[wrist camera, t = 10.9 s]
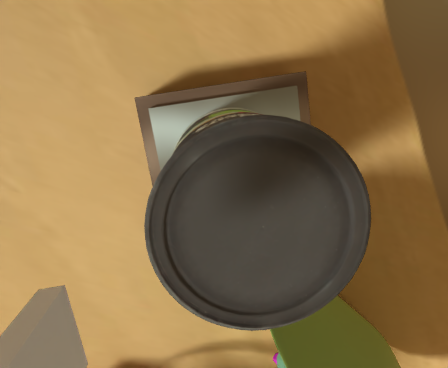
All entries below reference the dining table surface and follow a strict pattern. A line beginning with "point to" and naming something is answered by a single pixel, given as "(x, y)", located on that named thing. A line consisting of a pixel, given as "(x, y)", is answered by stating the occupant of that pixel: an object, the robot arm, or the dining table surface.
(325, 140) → the coffee can
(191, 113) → the tray
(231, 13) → the dining table surface
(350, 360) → the magenta flower sprig
